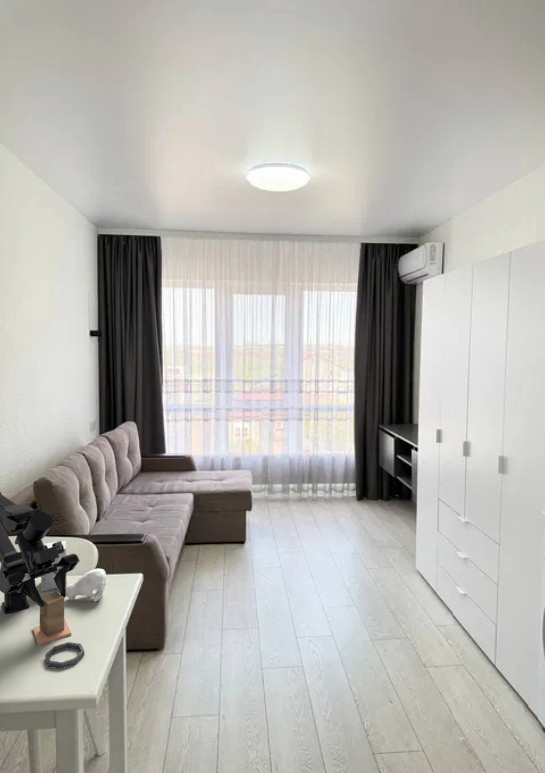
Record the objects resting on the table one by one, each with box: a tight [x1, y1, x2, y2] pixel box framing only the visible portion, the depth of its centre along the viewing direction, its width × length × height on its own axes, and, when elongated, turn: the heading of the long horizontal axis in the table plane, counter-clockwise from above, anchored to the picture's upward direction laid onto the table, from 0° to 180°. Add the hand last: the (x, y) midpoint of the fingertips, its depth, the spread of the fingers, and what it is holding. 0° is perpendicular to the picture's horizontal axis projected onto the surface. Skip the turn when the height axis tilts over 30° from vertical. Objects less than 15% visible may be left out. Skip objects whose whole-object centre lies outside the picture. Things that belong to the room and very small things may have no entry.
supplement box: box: [40, 540, 68, 592], centre depth 157 cm, size 7×7×13 cm
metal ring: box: [44, 641, 85, 669], centre depth 121 cm, size 8×8×1 cm
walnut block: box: [39, 591, 65, 637], centre depth 131 cm, size 4×4×9 cm
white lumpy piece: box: [66, 568, 107, 602], centre depth 149 cm, size 6×8×12 cm
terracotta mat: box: [32, 618, 72, 646], centre depth 131 cm, size 8×8×1 cm
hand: (53, 601), depth 130 cm, fingers open, 6 cm apart
